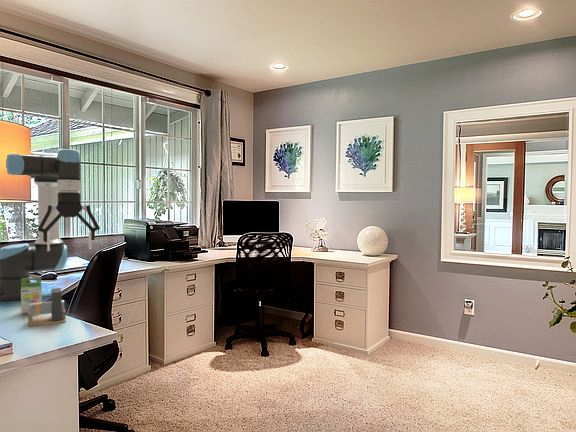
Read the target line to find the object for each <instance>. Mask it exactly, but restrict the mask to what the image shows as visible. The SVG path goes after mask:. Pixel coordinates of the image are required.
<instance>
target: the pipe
mask: <svg viewBox="0 0 576 432" xmlns="http://www.w3.org/2000/svg"><path fill="white" fill-rule="evenodd" d="M64 309H65V300H64V299H62V312H65V313H66V310H65V311H64ZM46 314H52V300H49V301H42V302H36V303H29V314H28V315H29V316H30V315H32V316H35V317H36V316H40V315H46Z"/></svg>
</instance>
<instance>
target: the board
mask: <svg viewBox="0 0 576 432" xmlns="http://www.w3.org/2000/svg"><path fill="white" fill-rule="evenodd" d="M64 311H65V312H62V320H55V321H52V315H51V316H45V317H44V316H43V317H35V318H34V317H33V315H30V316H29V314H27V316H28V322H27V323H28V325H27V326H28V327H34V326H36V327H37V326H43V325H51V324H52V325H53V324H60V323H66V322H67V319H66V309H65V308H64Z"/></svg>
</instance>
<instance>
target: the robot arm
mask: <svg viewBox="0 0 576 432" xmlns="http://www.w3.org/2000/svg"><path fill="white" fill-rule="evenodd" d="M30 152H31V155H20V154H11V153H9V154H7V155H6V156H7V159H6V168H7V174H8V175H12V176H14V175H28V176H31V178H30V179H33V182H34V184H35V185H36V186H37V192H38V193H37V202H38V204H37V207H38V210H37V213H38V215H37V219H38V222H37V223H38V224H37V225H38V227H37V231H38V232H37V233H38V235H37V237H38V238H37V239H36V240H35V241H34V246H31V245H30V243H18V244H11V245H6V246H3V247H1V248H0V301H1V302H7V301H8V302H10V301H20V300H21V278H30V273H39V272H54V271H61V270H62V269H64V268H65V266H66V263H67V260H68V246H67V245H66V244H64V240H63V239H61V238H60V233H61V232H60V225H61V223H60V219H61V218H62V217H63V218H76V217H77V218H78V219H79V220H81V222H82V223H83V224H84V225H85V226H86V227H87V228H88V229H89V230H90V231H88V250H92V241H95V239H96V238H95V232H96V231H99V230H100V229H101V228H100V225H99V224H98V221H97V220H96V219H95V217H94V215H93V213H92V211H91V205H89V204H87V205H82V204H81V203H82V201H81V198H82V197H81V196H82V195H81V193H80V192H81V188H82V187H81V161H82V160H81V152H80V150H78V149H74V148H73V149H70V148H59V149H58V150H57V153H54V152H38V151H30ZM82 210H84V212H86V213H87V215H88V217H89V219H90V220H91V223H92V224H93V226H94V227H93V226H92V225H91V224H90V223H89V221H87V220H86V219H85V218H84V217H83V215H82V214H81V213H80V212H81V211H82ZM31 281H32V280H29V281H26V283H32V282H31Z"/></svg>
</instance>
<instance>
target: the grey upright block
mask: <svg viewBox="0 0 576 432" xmlns="http://www.w3.org/2000/svg"><path fill="white" fill-rule="evenodd" d="M50 290H51V295H50V296H51V298H50V299H51V301H52V313H51V316H52V321H55V320H62V300H63V297H62V289H61V287H55V288H54V287H53V288H51V289H50Z"/></svg>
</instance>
